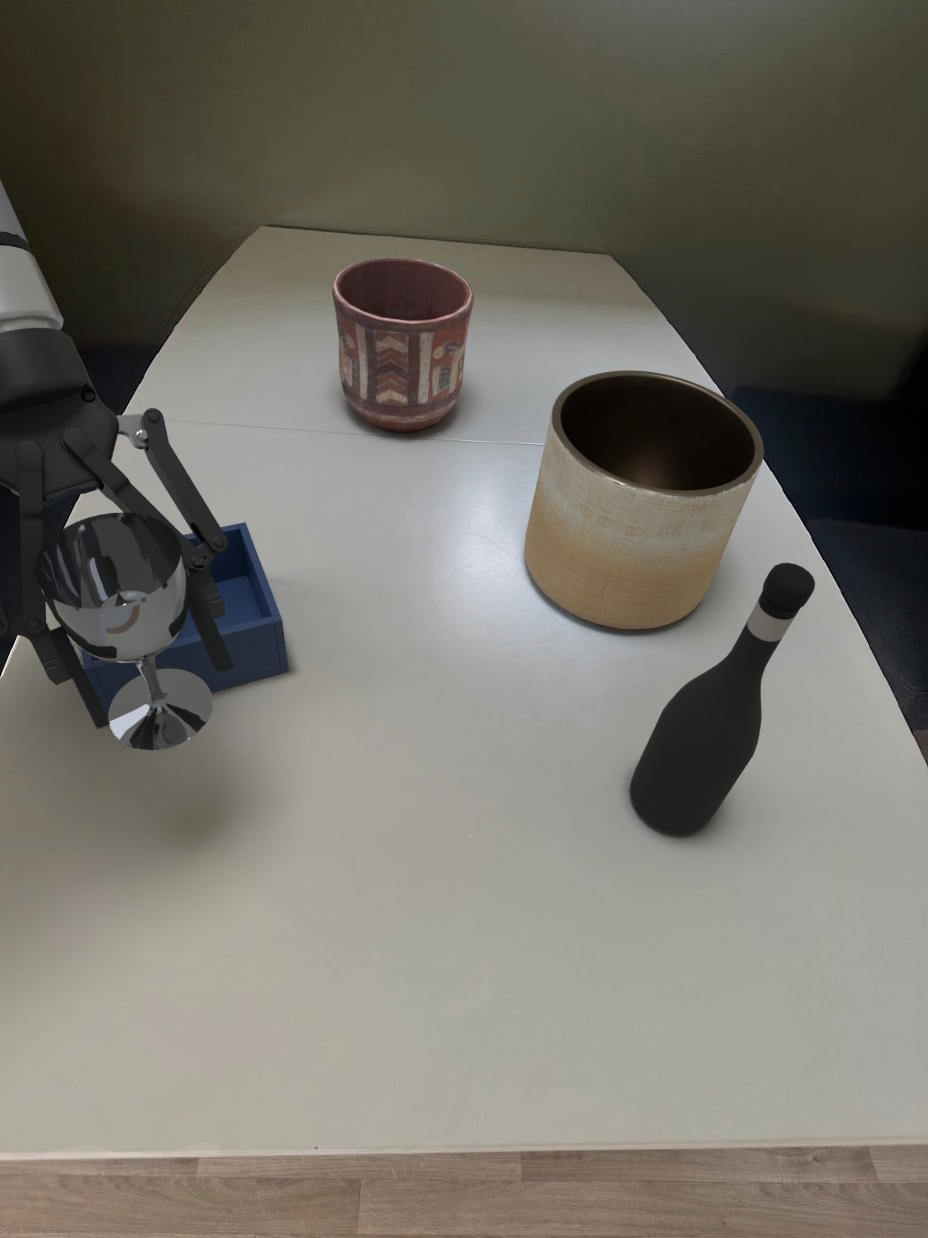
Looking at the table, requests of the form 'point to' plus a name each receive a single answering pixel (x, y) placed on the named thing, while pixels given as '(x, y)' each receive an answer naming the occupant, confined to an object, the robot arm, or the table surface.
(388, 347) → the pottery
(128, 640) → the wine glass
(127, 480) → the robot arm
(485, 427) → the table surface
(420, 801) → the table surface
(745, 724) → the wine bottle
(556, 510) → the planter
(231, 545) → the bin
